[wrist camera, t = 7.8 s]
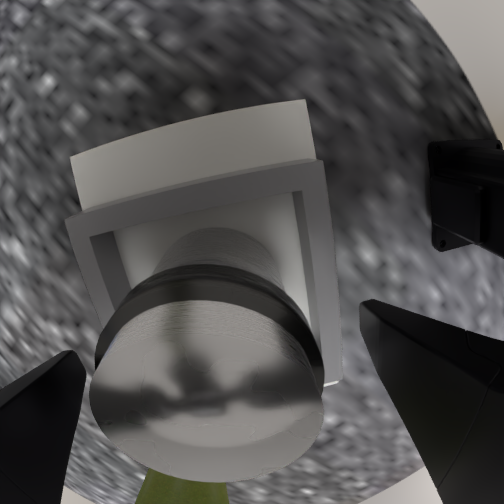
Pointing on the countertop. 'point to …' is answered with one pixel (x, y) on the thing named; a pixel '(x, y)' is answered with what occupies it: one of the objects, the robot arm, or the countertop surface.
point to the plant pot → (180, 490)
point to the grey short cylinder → (210, 365)
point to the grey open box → (212, 207)
